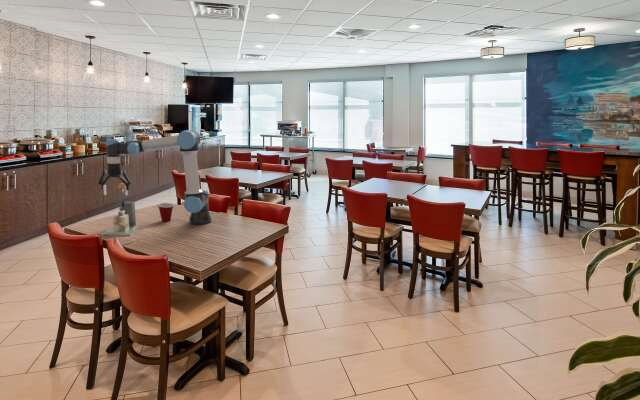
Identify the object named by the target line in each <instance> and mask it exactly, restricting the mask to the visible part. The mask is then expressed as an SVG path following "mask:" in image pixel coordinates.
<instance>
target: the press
mask: <svg viewBox="0 0 640 400" xmlns="http://www.w3.org/2000/svg"><path fill="white" fill-rule="evenodd" d="M123 211H124V214H128V216H129V229H127V230H126V231H114V230H113V226H112V227H110V228H108V229H107V230H105V231H104V232H103V233H102V236H103V235H111V236H116V237H117V236H123V237H125V236H132V235H133V234H134V233H135V232H137V231H138V230H139V229H140V226H136V225H137V224H136V223H137V221H136V206H135V201H124V210H123Z"/></svg>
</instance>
